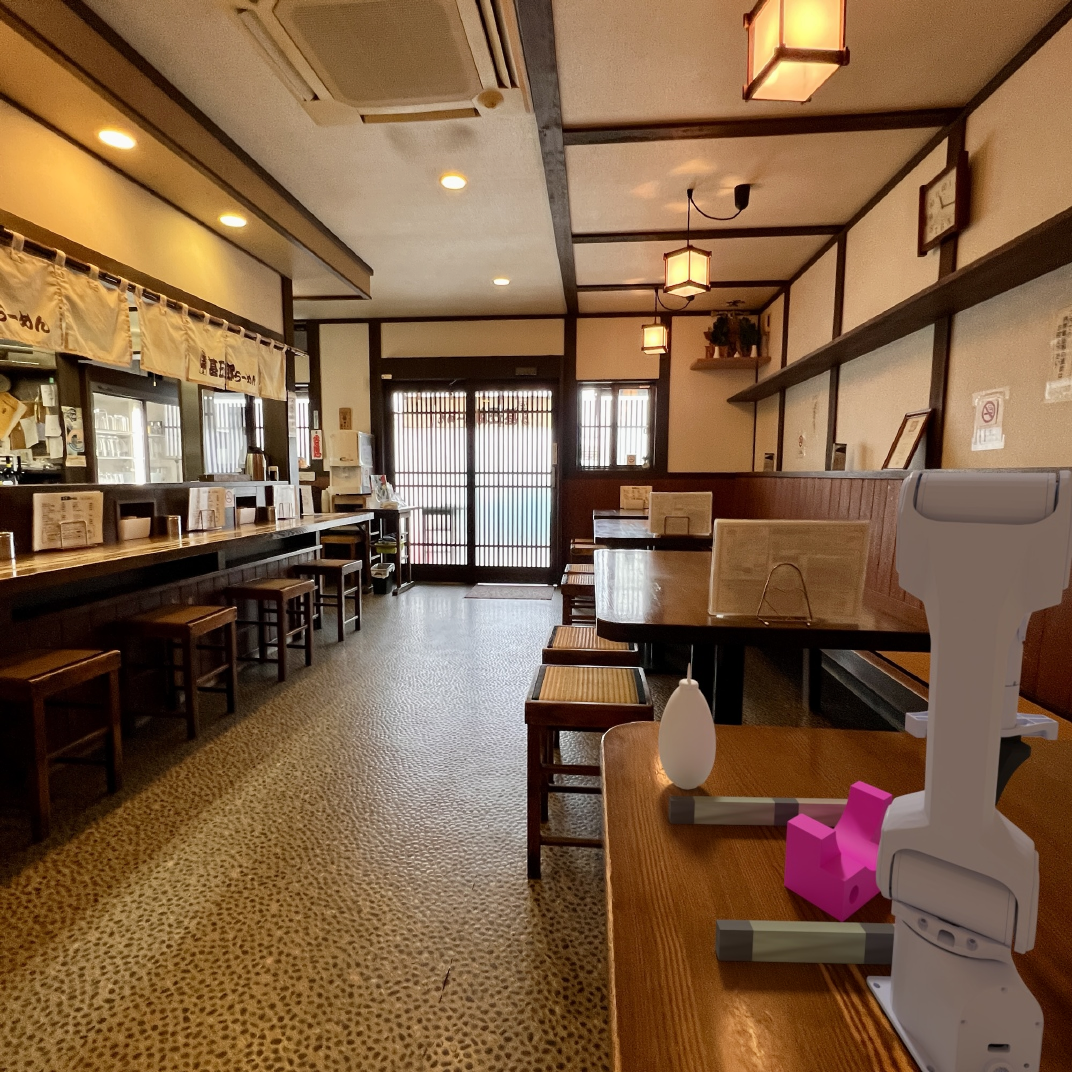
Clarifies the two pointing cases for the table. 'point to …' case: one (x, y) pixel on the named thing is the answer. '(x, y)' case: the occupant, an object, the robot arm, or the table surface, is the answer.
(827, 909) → the toy block
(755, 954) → the trap lane
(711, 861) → the table surface
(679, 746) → the sauce bottle
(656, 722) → the table surface
